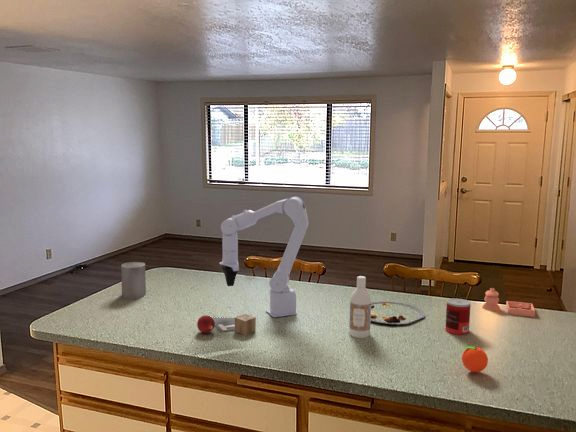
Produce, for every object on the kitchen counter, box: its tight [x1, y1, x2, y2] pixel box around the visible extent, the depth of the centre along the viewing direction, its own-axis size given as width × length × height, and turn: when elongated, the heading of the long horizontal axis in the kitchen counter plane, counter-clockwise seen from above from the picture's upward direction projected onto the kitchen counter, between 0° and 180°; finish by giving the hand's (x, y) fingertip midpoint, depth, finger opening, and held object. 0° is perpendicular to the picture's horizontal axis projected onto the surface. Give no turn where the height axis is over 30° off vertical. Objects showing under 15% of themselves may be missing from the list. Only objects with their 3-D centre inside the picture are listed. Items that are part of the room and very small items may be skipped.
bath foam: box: [348, 275, 372, 339], centre depth 168 cm, size 7×7×20 cm
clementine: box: [458, 346, 489, 373], centre depth 142 cm, size 8×7×7 cm
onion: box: [196, 314, 216, 334], centre depth 169 cm, size 6×6×8 cm
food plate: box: [371, 300, 426, 326], centre depth 188 cm, size 25×23×4 cm
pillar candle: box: [120, 261, 147, 299], centre depth 209 cm, size 10×10×15 cm
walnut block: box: [234, 313, 257, 336], centre depth 170 cm, size 5×5×5 cm
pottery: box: [481, 287, 536, 318], centre depth 191 cm, size 18×10×10 cm, turn 70°
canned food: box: [445, 297, 471, 336], centre depth 171 cm, size 8×8×11 cm
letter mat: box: [211, 315, 235, 333], centre depth 180 cm, size 11×18×1 cm, turn 24°
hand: (230, 285), depth 190 cm, fingers closed
